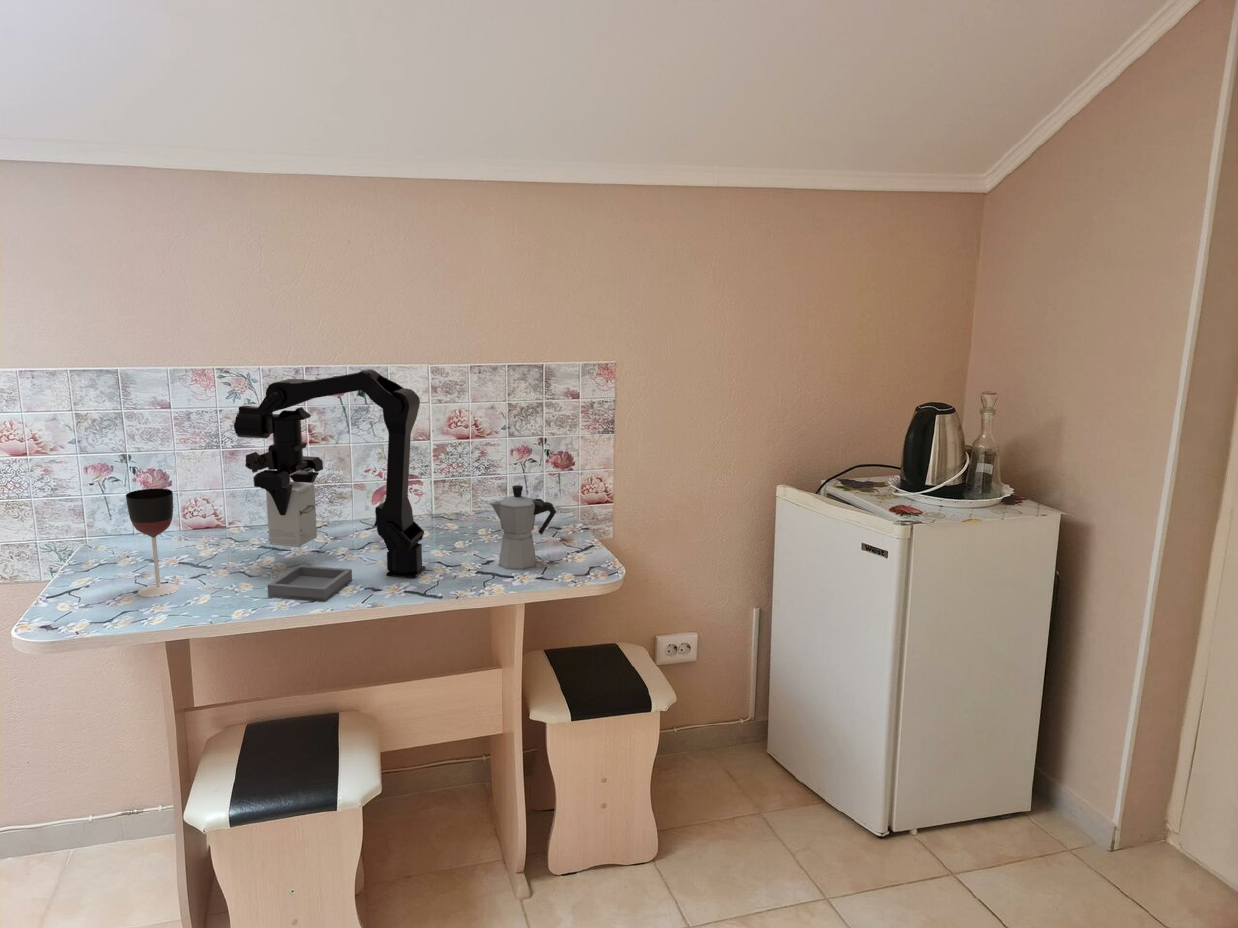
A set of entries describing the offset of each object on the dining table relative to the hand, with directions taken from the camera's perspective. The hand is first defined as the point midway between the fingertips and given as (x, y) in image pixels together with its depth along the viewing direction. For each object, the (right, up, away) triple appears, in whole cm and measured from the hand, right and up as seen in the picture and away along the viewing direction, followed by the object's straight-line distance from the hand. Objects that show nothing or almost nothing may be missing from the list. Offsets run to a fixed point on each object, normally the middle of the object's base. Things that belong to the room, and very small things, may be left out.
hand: (292, 510), depth 186 cm
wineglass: (-22, -16, -13) cm, 30 cm away
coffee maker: (+49, -13, +8) cm, 51 cm away
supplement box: (0, -7, +2) cm, 7 cm away
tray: (+8, -15, -10) cm, 20 cm away
